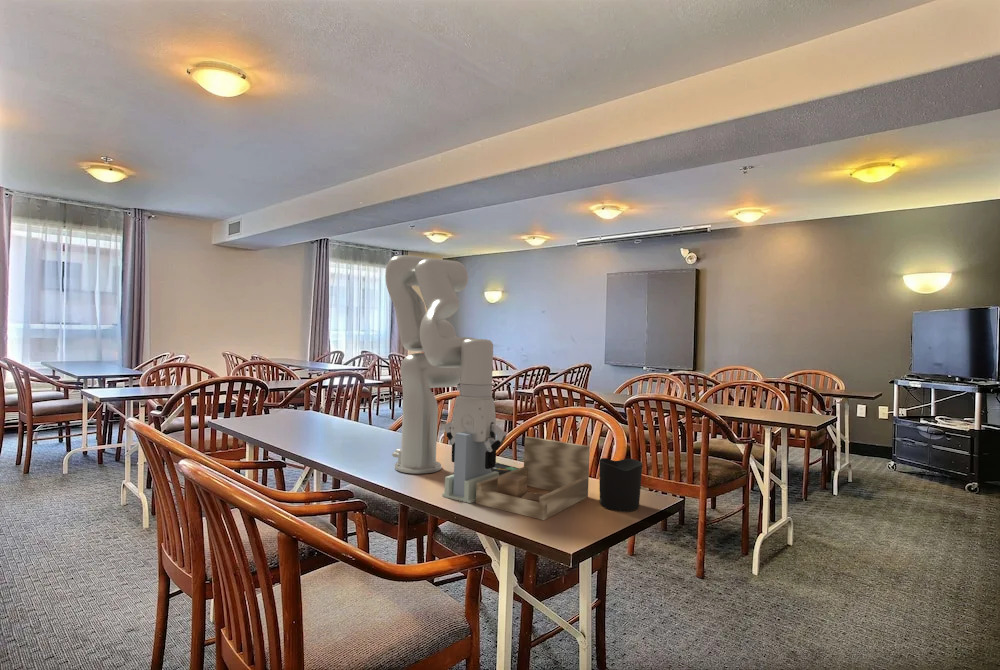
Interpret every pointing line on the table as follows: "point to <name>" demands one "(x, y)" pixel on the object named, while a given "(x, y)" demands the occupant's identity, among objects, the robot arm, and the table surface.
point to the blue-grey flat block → (467, 461)
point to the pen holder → (620, 484)
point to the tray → (543, 479)
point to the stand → (466, 487)
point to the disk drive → (502, 468)
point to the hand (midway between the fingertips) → (473, 464)
